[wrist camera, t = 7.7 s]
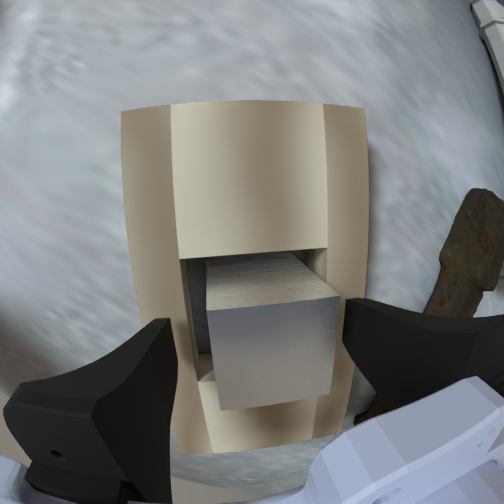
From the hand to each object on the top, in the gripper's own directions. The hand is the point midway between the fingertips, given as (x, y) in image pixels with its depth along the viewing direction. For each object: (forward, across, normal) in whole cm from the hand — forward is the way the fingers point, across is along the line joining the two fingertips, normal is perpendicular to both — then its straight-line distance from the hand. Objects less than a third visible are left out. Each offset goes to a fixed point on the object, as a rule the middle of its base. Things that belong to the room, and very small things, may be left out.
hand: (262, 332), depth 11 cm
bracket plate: (+3, 0, 0) cm, 3 cm away
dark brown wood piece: (+4, -12, +3) cm, 13 cm away
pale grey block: (+3, 0, 0) cm, 4 cm away
